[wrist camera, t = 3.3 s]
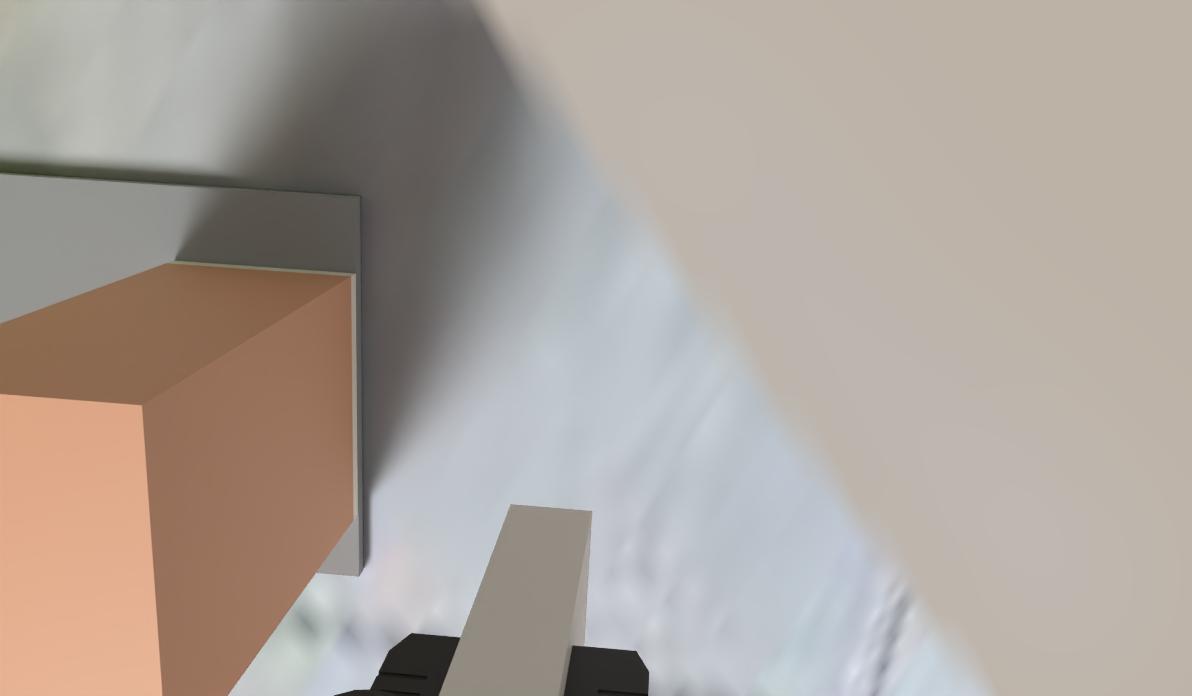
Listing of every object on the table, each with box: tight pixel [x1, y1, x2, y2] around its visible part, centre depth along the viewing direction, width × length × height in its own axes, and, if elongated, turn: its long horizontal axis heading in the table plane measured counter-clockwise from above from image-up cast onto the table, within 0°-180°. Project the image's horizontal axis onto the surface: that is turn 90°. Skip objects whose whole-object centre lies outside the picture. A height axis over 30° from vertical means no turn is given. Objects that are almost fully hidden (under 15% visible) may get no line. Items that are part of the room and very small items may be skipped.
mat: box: [0, 172, 363, 576], centre depth 28 cm, size 11×16×1 cm
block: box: [0, 261, 358, 696], centre depth 22 cm, size 7×5×11 cm
